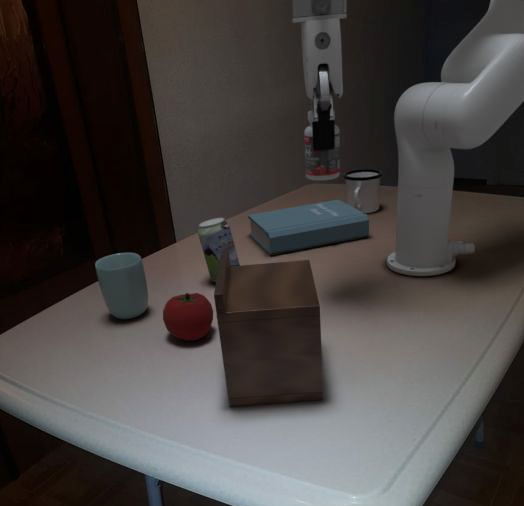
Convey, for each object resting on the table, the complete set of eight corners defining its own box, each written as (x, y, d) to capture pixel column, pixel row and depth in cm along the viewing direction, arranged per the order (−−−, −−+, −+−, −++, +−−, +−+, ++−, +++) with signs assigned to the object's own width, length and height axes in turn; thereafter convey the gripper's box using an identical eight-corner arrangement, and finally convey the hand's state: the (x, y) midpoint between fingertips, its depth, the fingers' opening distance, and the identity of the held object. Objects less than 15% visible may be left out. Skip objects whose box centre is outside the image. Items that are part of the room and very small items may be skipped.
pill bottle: (298, 179, 88) (295, 112, 83) (319, 172, 91) (317, 108, 86) (326, 182, 85) (325, 113, 80) (346, 175, 88) (346, 108, 83)
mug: (348, 204, 147) (348, 169, 143) (384, 204, 144) (385, 168, 139) (337, 217, 138) (336, 180, 133) (375, 218, 134) (375, 180, 130)
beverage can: (238, 287, 105) (230, 224, 99) (200, 287, 106) (191, 225, 100) (245, 274, 110) (239, 214, 104) (210, 274, 111) (201, 215, 106)
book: (338, 220, 136) (338, 199, 133) (368, 238, 122) (369, 215, 120) (250, 236, 131) (247, 215, 128) (271, 256, 117) (269, 233, 115)
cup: (113, 328, 94) (100, 272, 89) (103, 312, 100) (89, 259, 95) (157, 315, 96) (147, 261, 92) (144, 300, 103) (134, 249, 98)
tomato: (214, 320, 93) (208, 280, 89) (218, 343, 86) (212, 300, 82) (166, 328, 92) (158, 287, 89) (166, 351, 85) (158, 308, 82)
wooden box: (313, 342, 84) (308, 243, 76) (323, 399, 70) (319, 286, 63) (233, 348, 84) (221, 250, 76) (229, 406, 71) (213, 294, 63)
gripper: (354, 2, 69) (354, 154, 78) (339, 9, 84) (340, 135, 93) (294, 8, 69) (300, 158, 78) (290, 13, 84) (295, 139, 93)
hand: (322, 144), depth 86 cm, fingers closed on pill bottle, 5 cm apart
